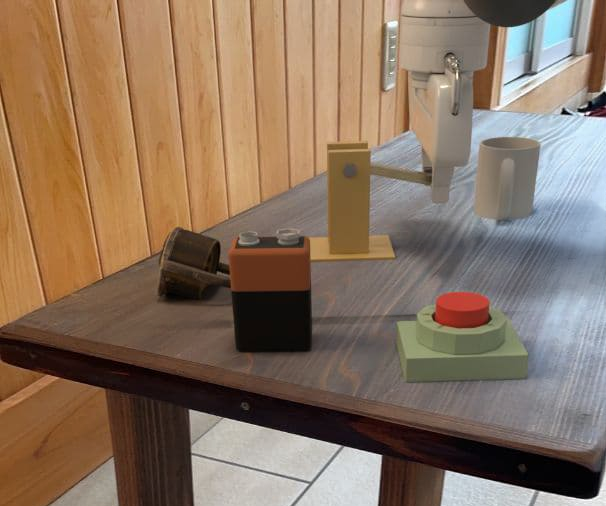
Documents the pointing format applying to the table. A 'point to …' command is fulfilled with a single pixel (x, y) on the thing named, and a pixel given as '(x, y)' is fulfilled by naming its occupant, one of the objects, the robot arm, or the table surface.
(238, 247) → the battery
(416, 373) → the switch block
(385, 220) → the table surface
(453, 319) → the button
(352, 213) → the bracket
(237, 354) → the table surface
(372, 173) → the lever
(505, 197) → the cup
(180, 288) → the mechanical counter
